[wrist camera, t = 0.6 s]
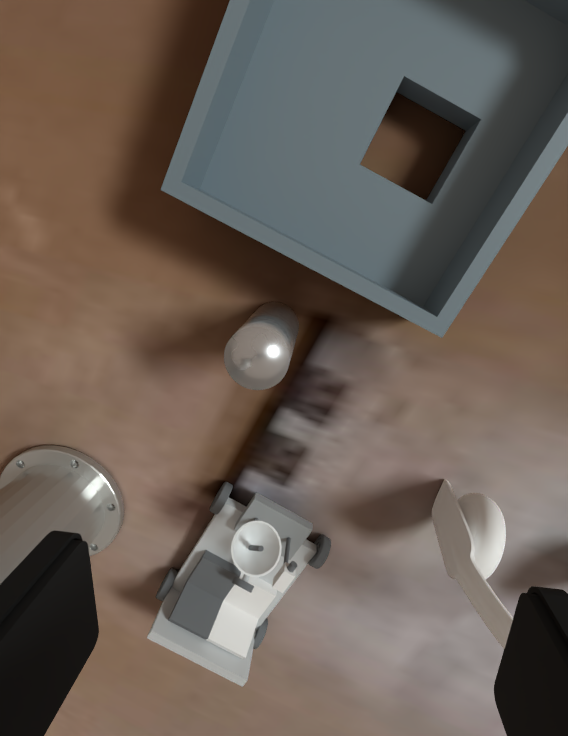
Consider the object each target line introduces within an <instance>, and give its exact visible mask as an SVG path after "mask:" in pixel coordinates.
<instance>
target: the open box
mask: <svg viewBox="0 0 568 736" xmlns="http://www.w3.org/2000/svg"><path fill="white" fill-rule="evenodd" d="M396 92H398V93H399V94H401V95H403V96H405V97H407V98H408V99H410V100H412V101H414V102H415V103H417V104H419V105H421V106H423V107H424V108H426V109H428V110H430V111H432V112H433V113H435V114H437V115H439V116H440V117H442V118H444V119H446V120H448V121H449V122H451V123H453V124H455V125H457V126H458V127H460V128H462V129H464V130H465V131H466V132H465V133H464V135H463V137H462V139H461V140H460V142H459V144H458V146H457V147H456V149H455V151H454V153H453V154H452V156H451V158H450V160H449V161H448V163H447V165H446V167H445V168H444V170H443V172H442V174H441V175H440V177H439V179H438V181H437V182H436V184H435V186H434V188H433V189H432V191H431V193H430V195H429V196H428V198H427V200H424V199H422V198H420V197H418V196H416V195H415V194H413V193H411V192H409V191H407V190H405V189H404V188H402V187H400V186H398V185H396V184H394V183H393V182H391V181H389V180H387V179H385V178H383V177H382V176H380V175H378V174H376V173H374V172H372V171H371V170H369V169H367V168H365V167H363V166H361V165H360V163H361V161H362V159H363V157H364V155H365V153H366V151H367V149H368V147H369V145H370V143H371V141H372V139H373V137H374V135H375V133H376V131H377V129H378V127H379V125H380V123H381V121H382V119H383V117H384V115H385V113H386V111H387V109H388V107H389V105H390V103H391V101H392V99H393V98H394V96H395V94H396ZM567 146H568V0H230V1H229V4H228V7H227V10H226V12H225V15H224V18H223V20H222V23H221V26H220V29H219V31H218V34H217V37H216V40H215V42H214V45H213V48H212V51H211V53H210V56H209V59H208V62H207V64H206V67H205V70H204V72H203V75H202V78H201V81H200V83H199V86H198V89H197V92H196V94H195V97H194V100H193V103H192V105H191V108H190V111H189V113H188V116H187V119H186V122H185V124H184V127H183V130H182V133H181V135H180V138H179V141H178V144H177V146H176V149H175V152H174V155H173V157H172V160H171V163H170V165H169V168H168V171H167V174H166V176H165V179H164V182H163V185H162V187H161V190H162V191H164V192H166V193H168V194H169V195H171V196H173V197H175V198H177V199H179V200H181V201H183V202H185V203H187V204H188V205H190V206H192V207H194V208H196V209H198V210H200V211H202V212H204V213H206V214H207V215H209V216H211V217H213V218H215V219H217V220H219V221H221V222H223V223H225V224H226V225H228V226H230V227H232V228H234V229H236V230H238V231H240V232H242V233H244V234H245V235H247V236H249V237H251V238H253V239H255V240H257V241H259V242H261V243H263V244H264V245H266V246H268V247H270V248H272V249H274V250H276V251H278V252H280V253H282V254H284V255H285V256H287V257H289V258H291V259H293V260H295V261H297V262H299V263H301V264H303V265H304V266H306V267H308V268H310V269H312V270H314V271H316V272H318V273H320V274H322V275H323V276H325V277H327V278H329V279H331V280H333V281H335V282H337V283H339V284H341V285H342V286H344V287H346V288H348V289H350V290H352V291H354V292H356V293H358V294H360V295H361V296H363V297H365V298H367V299H369V300H371V301H373V302H375V303H377V304H379V305H381V306H382V307H384V308H386V309H388V310H390V311H392V312H394V313H396V314H398V315H400V316H401V317H403V318H405V319H407V320H409V321H411V322H413V323H415V324H417V325H419V326H420V327H422V328H424V329H426V330H428V331H430V332H432V333H434V334H436V335H438V336H439V337H441V338H442V337H443V336H444V334H445V332H446V331H447V329H448V328H449V326H450V325H451V323H452V322H453V320H454V319H455V317H456V316H457V314H458V313H459V311H460V310H461V308H462V306H463V305H464V303H465V302H466V300H467V299H468V297H469V296H470V294H471V293H472V291H473V290H474V288H475V287H476V285H477V284H478V282H479V280H480V279H481V277H482V276H483V274H484V273H485V271H486V270H487V268H488V267H489V265H490V264H491V262H492V261H493V259H494V258H495V256H496V254H497V253H498V251H499V250H500V248H501V247H502V245H503V244H504V242H505V241H506V239H507V238H508V236H509V235H510V233H511V232H512V230H513V228H514V227H515V225H516V224H517V222H518V221H519V219H520V218H521V216H522V215H523V213H524V212H525V210H526V209H527V207H528V206H529V204H530V202H531V201H532V199H533V198H534V196H535V195H536V193H537V192H538V190H539V189H540V187H541V186H542V184H543V183H544V181H545V179H546V178H547V176H548V175H549V173H550V172H551V170H552V169H553V167H554V166H555V164H556V163H557V161H558V160H559V158H560V157H561V155H562V153H563V152H564V150H565V149H566V147H567Z"/></svg>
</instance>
